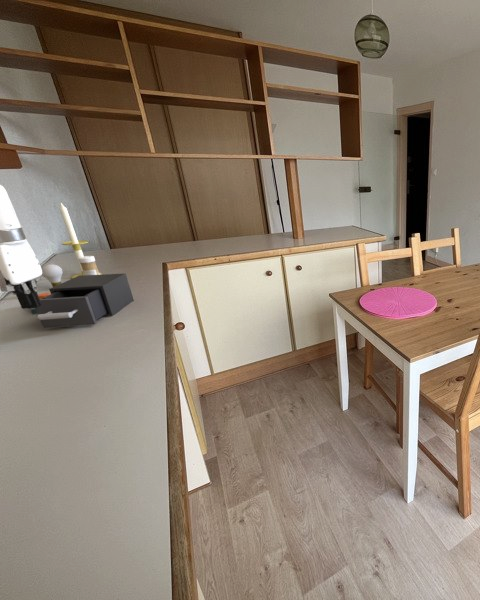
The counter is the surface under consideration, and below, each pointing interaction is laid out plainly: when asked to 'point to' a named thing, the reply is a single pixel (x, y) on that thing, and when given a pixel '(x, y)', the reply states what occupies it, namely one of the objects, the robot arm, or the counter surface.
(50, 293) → the button
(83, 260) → the sprinkles bottle
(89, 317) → the dark grey drawer
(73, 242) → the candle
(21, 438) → the counter surface
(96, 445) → the counter surface
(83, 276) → the dark grey drawer box
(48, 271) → the light bulb
